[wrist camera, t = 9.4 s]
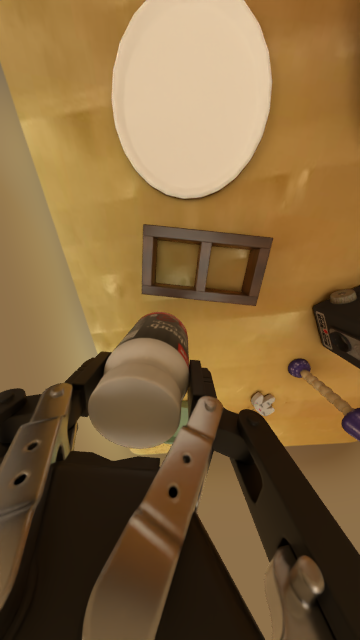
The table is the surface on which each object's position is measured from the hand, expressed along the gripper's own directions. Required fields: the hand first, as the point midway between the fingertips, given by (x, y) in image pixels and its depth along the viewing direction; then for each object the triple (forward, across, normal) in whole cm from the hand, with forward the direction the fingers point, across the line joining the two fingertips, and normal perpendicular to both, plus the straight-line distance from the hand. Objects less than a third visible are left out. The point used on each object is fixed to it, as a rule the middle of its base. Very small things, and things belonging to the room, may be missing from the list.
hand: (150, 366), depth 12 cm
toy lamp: (+21, -28, +11) cm, 37 cm away
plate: (+20, -1, -27) cm, 34 cm away
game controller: (+21, -20, +23) cm, 37 cm away
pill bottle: (+6, 0, 0) cm, 6 cm away
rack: (+20, -5, -7) cm, 22 cm away
